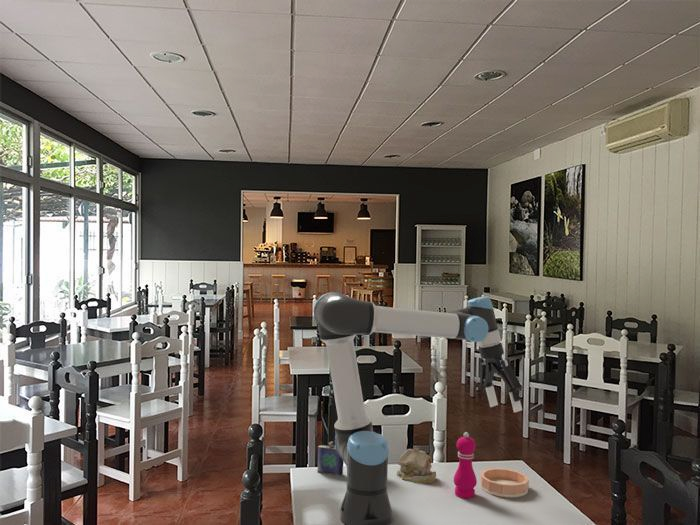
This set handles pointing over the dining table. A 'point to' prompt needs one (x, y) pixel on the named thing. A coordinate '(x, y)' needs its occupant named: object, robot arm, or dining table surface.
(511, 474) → the terracotta bowl
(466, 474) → the pepper mill
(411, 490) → the dining table surface
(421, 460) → the ceramic model
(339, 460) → the flask
